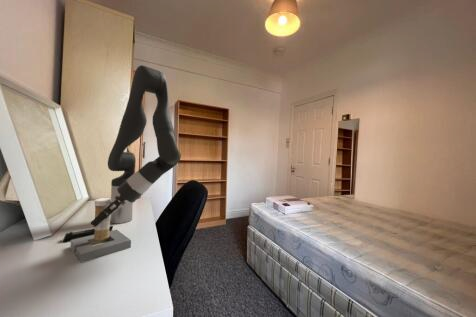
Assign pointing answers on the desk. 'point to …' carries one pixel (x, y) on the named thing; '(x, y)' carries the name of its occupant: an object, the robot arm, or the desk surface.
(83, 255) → the holder plate
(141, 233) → the desk surface
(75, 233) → the electric trimmer
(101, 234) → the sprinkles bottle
